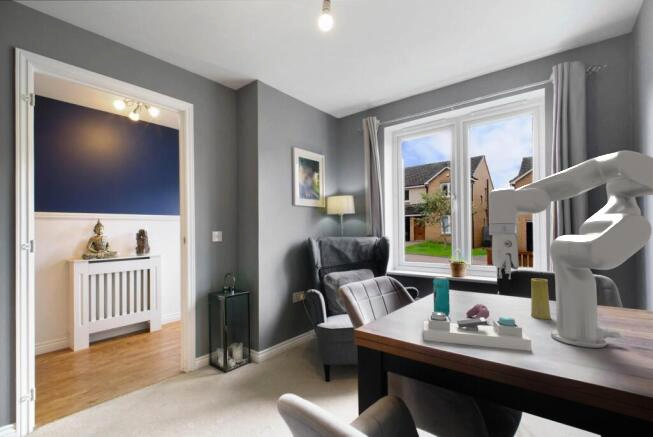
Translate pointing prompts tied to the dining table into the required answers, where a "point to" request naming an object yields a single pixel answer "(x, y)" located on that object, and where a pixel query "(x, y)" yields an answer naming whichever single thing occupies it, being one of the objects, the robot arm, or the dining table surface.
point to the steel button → (438, 316)
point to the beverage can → (441, 295)
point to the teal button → (506, 321)
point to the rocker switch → (472, 322)
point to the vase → (540, 299)
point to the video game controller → (478, 311)
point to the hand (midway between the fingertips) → (503, 291)
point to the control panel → (477, 334)
